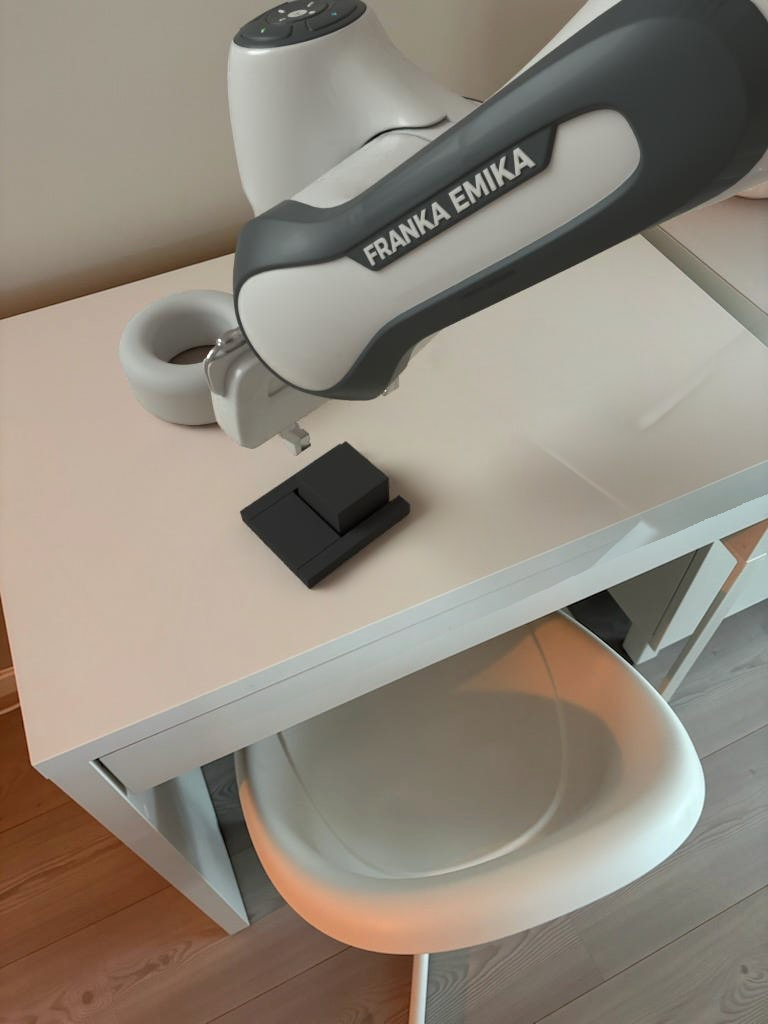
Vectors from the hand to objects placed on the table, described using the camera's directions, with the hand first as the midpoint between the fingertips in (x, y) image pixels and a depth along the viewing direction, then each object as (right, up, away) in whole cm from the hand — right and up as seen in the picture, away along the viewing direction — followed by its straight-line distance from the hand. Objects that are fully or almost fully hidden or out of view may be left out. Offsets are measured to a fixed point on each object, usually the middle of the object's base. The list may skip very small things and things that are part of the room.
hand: (343, 417), depth 62 cm
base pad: (-2, -8, +8) cm, 12 cm away
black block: (0, -7, +9) cm, 11 cm away
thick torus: (-16, +6, +19) cm, 26 cm away
